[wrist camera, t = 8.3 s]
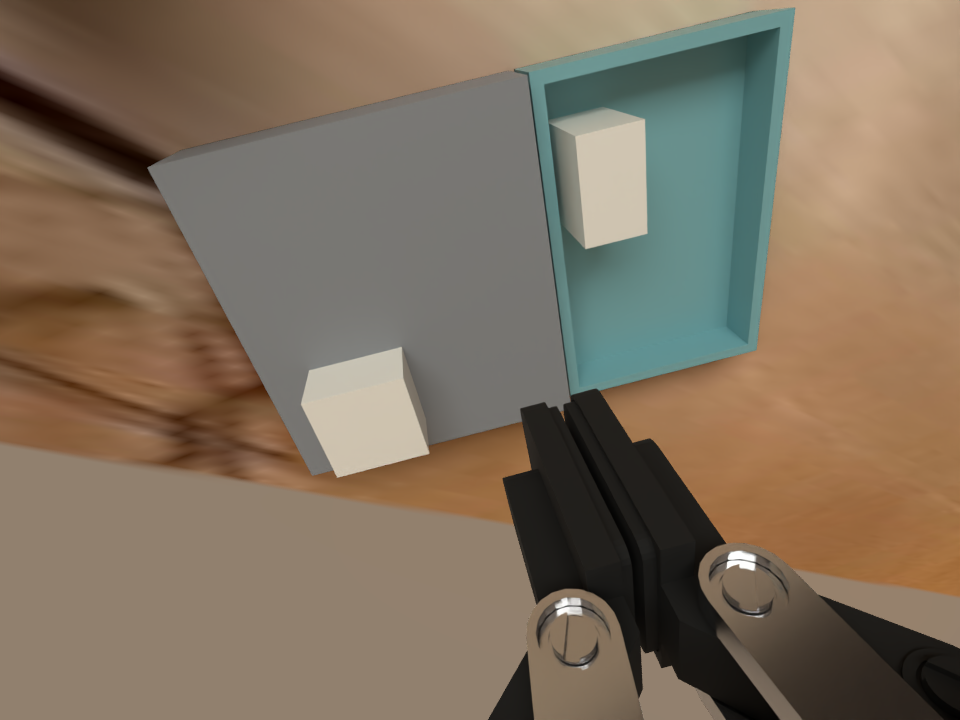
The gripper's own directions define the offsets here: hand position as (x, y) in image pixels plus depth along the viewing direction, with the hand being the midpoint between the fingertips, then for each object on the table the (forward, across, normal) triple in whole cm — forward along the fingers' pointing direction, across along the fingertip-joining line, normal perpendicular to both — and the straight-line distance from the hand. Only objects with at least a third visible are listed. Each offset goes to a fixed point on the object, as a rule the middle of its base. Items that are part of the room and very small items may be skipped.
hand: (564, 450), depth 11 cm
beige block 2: (+16, -5, -1) cm, 17 cm away
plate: (+20, +4, +3) cm, 20 cm away
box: (+20, -10, +3) cm, 22 cm away
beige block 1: (+16, +7, +8) cm, 19 cm away
